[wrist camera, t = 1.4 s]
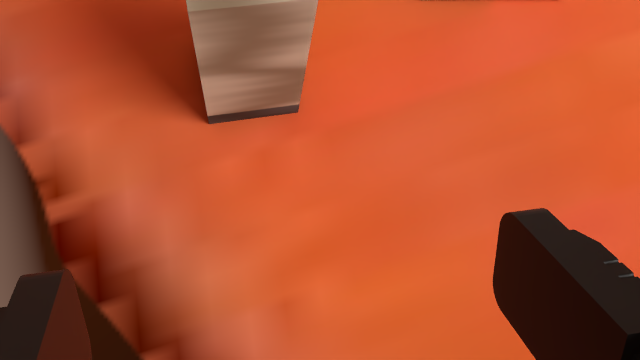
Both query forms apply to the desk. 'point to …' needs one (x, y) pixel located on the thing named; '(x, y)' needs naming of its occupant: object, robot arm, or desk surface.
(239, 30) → the tall wooden block
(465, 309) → the desk surface
